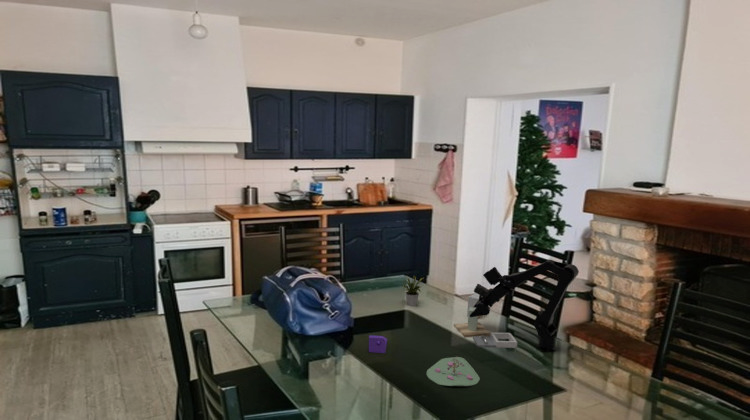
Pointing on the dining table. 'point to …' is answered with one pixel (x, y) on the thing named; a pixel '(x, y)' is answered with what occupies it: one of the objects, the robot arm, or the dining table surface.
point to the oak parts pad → (467, 333)
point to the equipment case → (494, 342)
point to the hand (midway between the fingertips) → (471, 313)
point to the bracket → (377, 344)
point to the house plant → (412, 292)
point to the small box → (472, 301)
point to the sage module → (472, 320)
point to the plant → (453, 372)
